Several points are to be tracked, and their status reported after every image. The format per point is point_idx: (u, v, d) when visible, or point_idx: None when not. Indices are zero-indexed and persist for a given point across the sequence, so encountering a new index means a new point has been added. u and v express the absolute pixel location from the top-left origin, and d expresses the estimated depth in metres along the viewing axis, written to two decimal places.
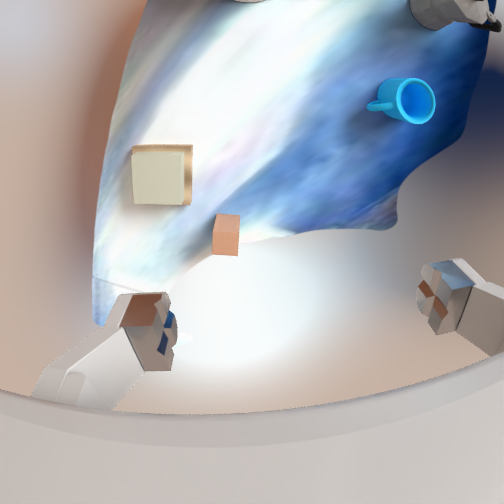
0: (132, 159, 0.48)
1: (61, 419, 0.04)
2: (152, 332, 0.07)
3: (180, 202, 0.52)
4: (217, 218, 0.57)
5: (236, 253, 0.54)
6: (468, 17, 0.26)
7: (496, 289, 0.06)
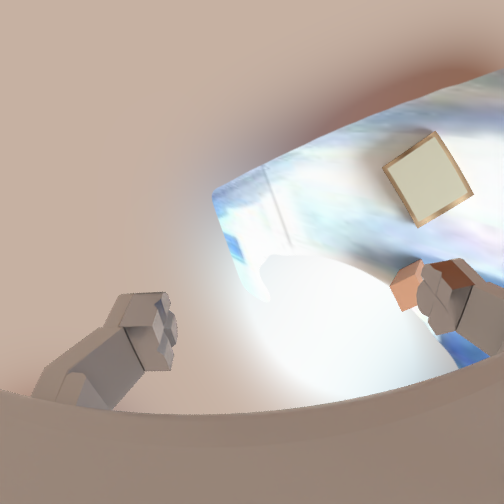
0: (432, 140, 0.35)
1: (61, 419, 0.04)
2: (152, 332, 0.07)
3: (420, 219, 0.39)
4: (420, 264, 0.43)
5: (404, 309, 0.41)
6: None
7: (496, 289, 0.06)
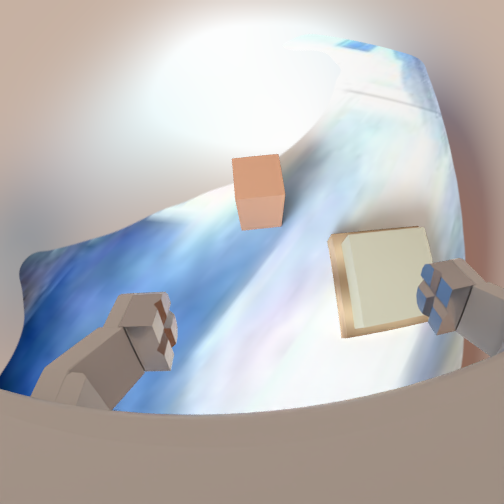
0: None
1: (61, 419, 0.04)
2: (152, 332, 0.07)
3: (350, 239, 0.28)
4: (279, 219, 0.33)
5: (234, 162, 0.28)
6: None
7: (496, 289, 0.06)
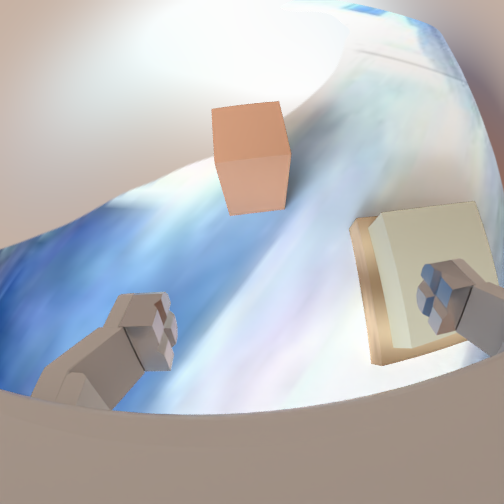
0: None
1: (61, 419, 0.04)
2: (152, 332, 0.07)
3: (384, 219, 0.19)
4: (282, 197, 0.23)
5: (215, 113, 0.18)
6: None
7: (496, 289, 0.06)
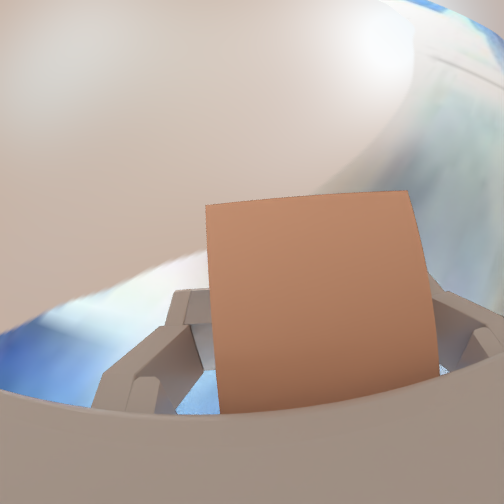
0: None
1: (61, 419, 0.04)
2: None
3: None
4: None
5: (216, 226, 0.06)
6: None
7: (455, 299, 0.06)
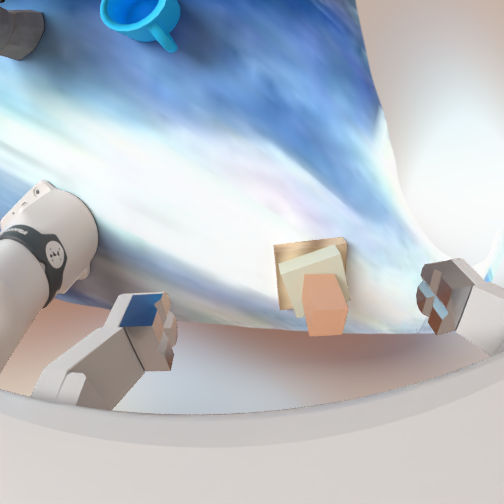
0: (301, 316, 0.47)
1: (61, 419, 0.04)
2: (152, 332, 0.07)
3: (337, 255, 0.42)
4: (303, 307, 0.43)
5: (344, 310, 0.36)
6: None
7: (496, 289, 0.06)
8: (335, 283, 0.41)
